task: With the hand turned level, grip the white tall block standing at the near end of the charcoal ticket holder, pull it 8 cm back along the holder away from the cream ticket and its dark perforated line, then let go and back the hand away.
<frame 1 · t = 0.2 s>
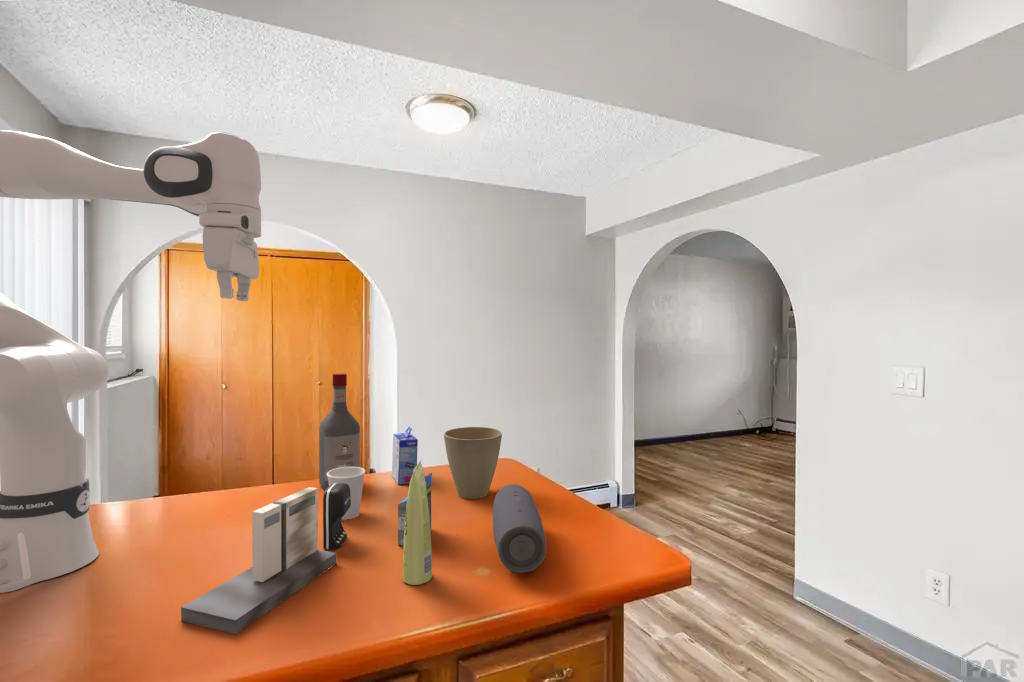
hand: (235, 299, 94), 48 cm above the counter, tool pointing down, fingers open, 8 cm apart
dixie cup: (346, 516, 114), on the counter
battery charger: (337, 544, 99), on the counter
tube: (417, 579, 86), on the counter
plant pot: (472, 495, 129), on the counter
ticket holder: (267, 589, 82), on the counter
ink cartridge box: (404, 480, 141), on the counter
label tape cartridge: (415, 538, 103), on the counter
bluetooth speaker: (517, 552, 97), on the counter
white tall block: (267, 541, 82), point 8 cm above the counter, slide at 0.0 cm
liquor: (339, 486, 135), on the counter
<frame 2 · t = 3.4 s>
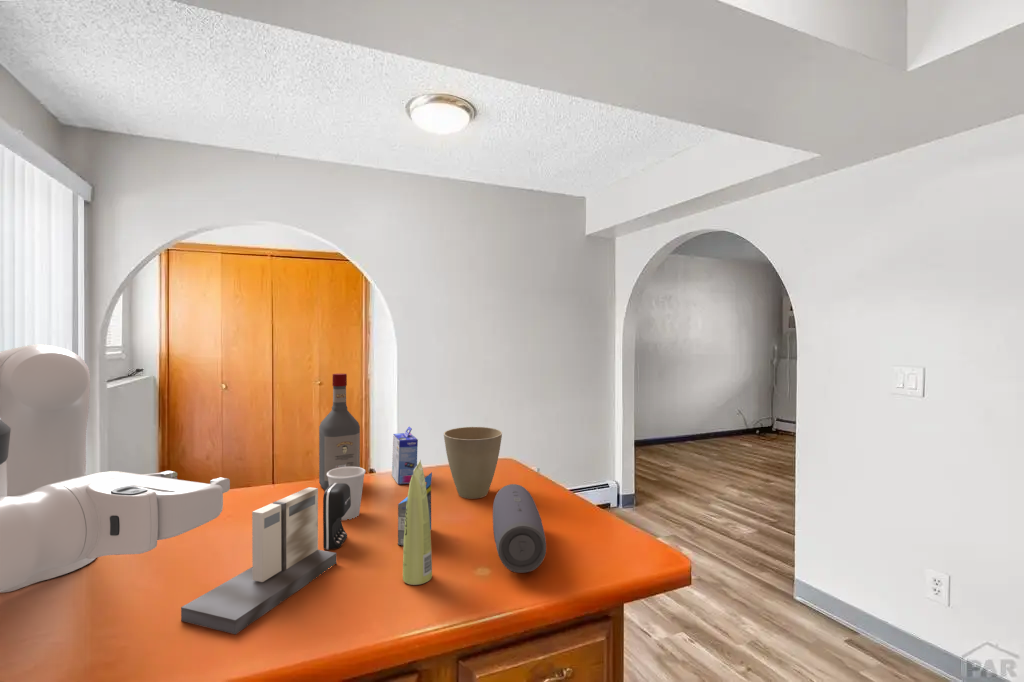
hand: (199, 480, 70), 21 cm above the counter, tool horizontal, fingers open, 8 cm apart
nothing on the counter moved.
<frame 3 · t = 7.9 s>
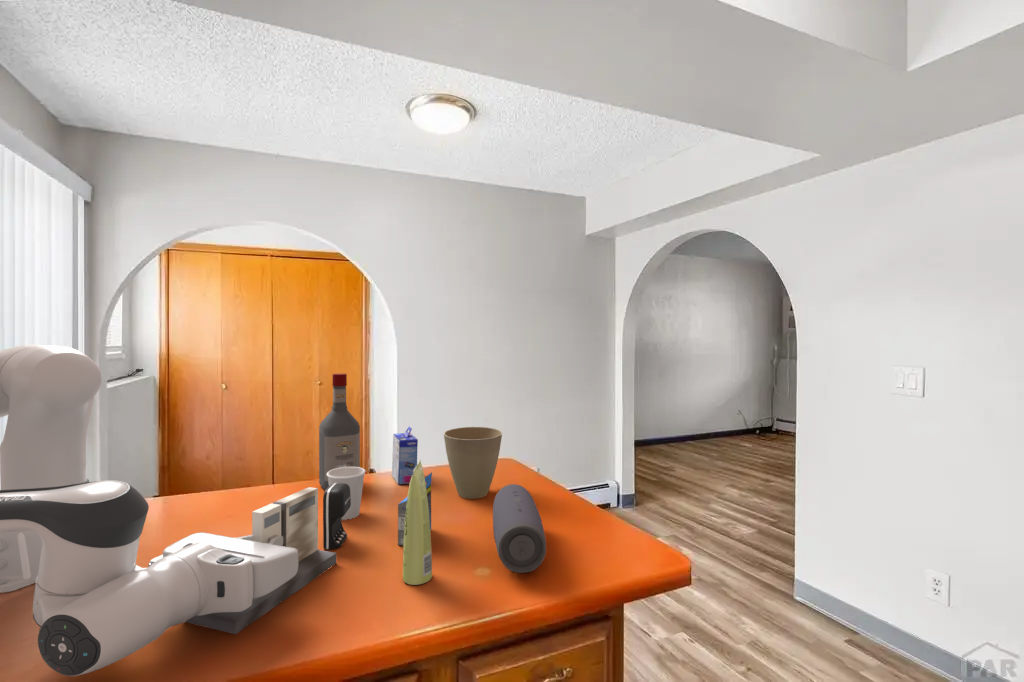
hand: (271, 538, 83), 8 cm above the counter, tool horizontal, fingers closed on white tall block, 2 cm apart
white tall block: (267, 541, 82), point 8 cm above the counter, slide at 0.0 cm, touching gripper
everything else where it was.
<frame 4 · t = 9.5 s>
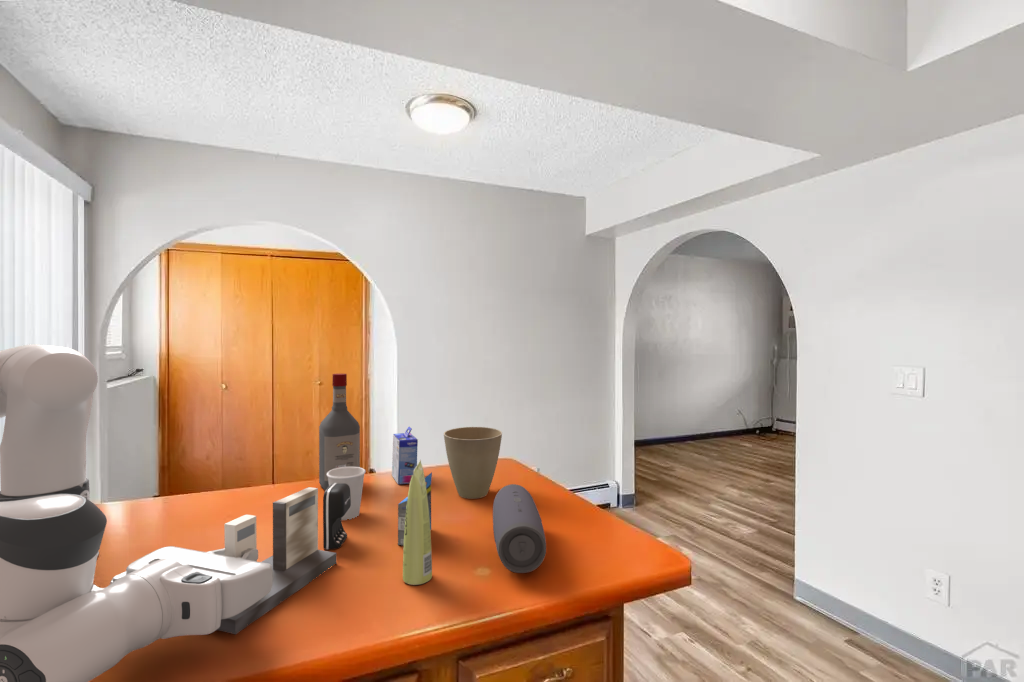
hand: (245, 551, 78), 8 cm above the counter, tool horizontal, fingers closed on white tall block, 2 cm apart
white tall block: (240, 555, 77), point 8 cm above the counter, slide at 5.2 cm, touching gripper
everything else where it was.
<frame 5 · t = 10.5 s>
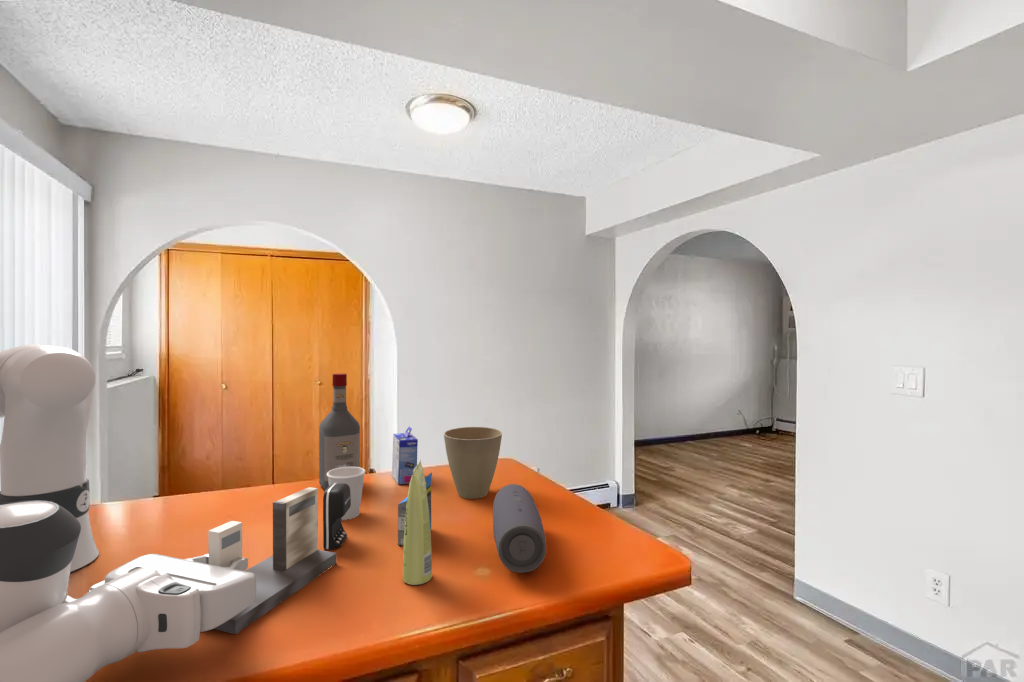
hand: (230, 559, 75), 8 cm above the counter, tool horizontal, fingers open, 4 cm apart
white tall block: (225, 563, 74), point 8 cm above the counter, slide at 7.9 cm
everything else where it was.
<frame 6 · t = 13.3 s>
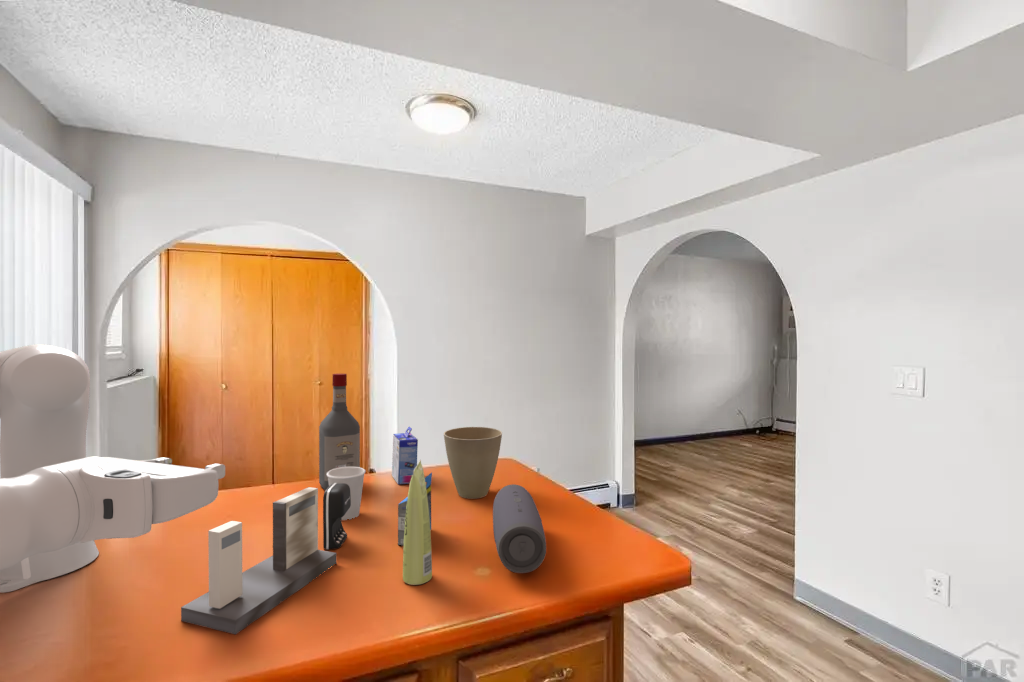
hand: (194, 466, 69), 24 cm above the counter, tool horizontal, fingers open, 8 cm apart
nothing on the counter moved.
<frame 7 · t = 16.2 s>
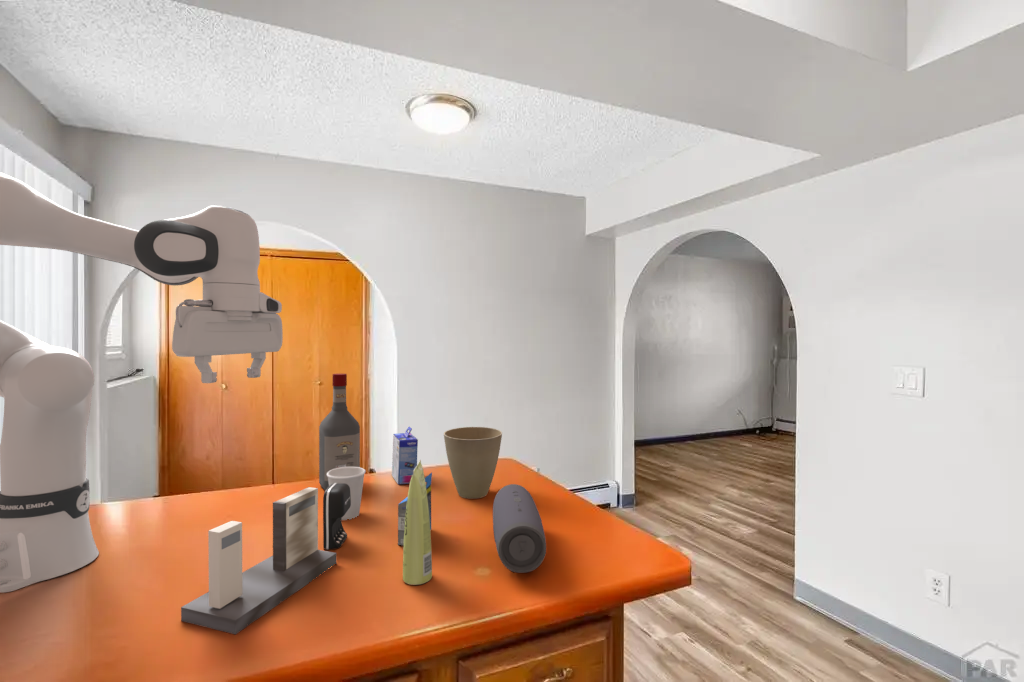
hand: (232, 380, 89), 33 cm above the counter, tool pointing down, fingers open, 8 cm apart
nothing on the counter moved.
at the end: white tall block slide at 7.9 cm; the gripper is holding nothing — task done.
